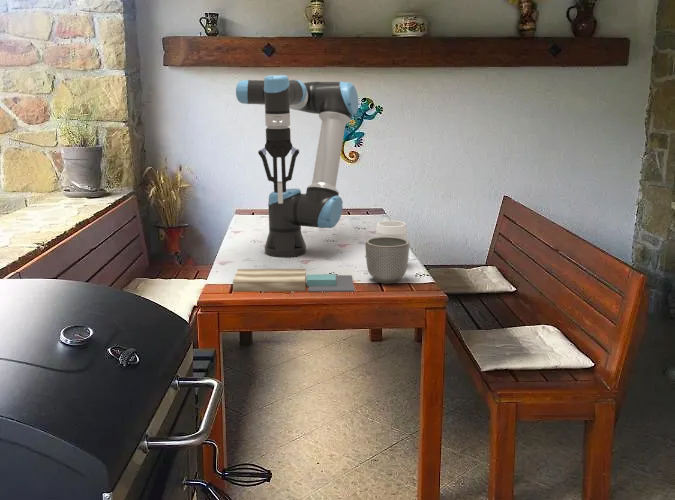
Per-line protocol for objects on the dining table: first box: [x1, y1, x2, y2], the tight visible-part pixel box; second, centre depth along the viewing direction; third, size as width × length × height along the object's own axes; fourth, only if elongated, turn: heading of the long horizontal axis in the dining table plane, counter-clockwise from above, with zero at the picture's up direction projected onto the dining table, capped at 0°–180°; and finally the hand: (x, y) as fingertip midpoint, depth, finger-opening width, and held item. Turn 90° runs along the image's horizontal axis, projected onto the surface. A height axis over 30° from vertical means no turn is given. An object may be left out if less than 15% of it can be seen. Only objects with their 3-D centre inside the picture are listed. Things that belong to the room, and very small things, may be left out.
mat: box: [307, 274, 355, 293], centre depth 226 cm, size 16×14×1 cm
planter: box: [365, 236, 410, 285], centre depth 228 cm, size 14×14×13 cm
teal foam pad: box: [306, 273, 336, 287], centre depth 225 cm, size 9×6×2 cm, turn 91°
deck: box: [232, 268, 307, 292], centre depth 225 cm, size 14×22×3 cm, turn 92°
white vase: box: [375, 220, 408, 240], centre depth 244 cm, size 11×11×15 cm
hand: (280, 202), depth 226 cm, fingers closed
